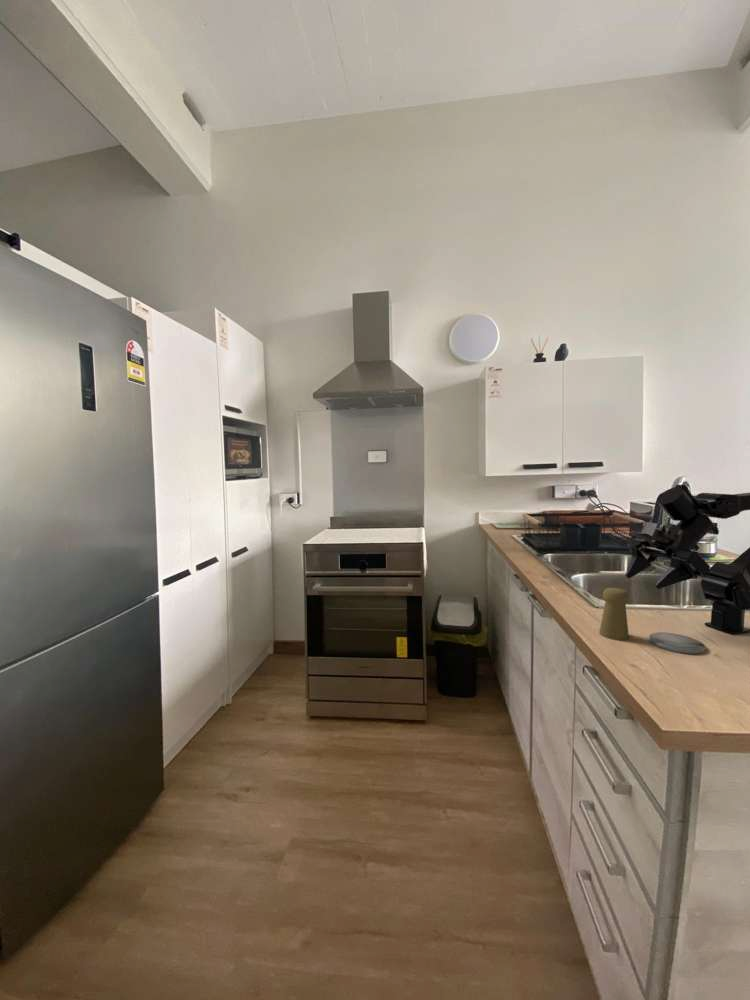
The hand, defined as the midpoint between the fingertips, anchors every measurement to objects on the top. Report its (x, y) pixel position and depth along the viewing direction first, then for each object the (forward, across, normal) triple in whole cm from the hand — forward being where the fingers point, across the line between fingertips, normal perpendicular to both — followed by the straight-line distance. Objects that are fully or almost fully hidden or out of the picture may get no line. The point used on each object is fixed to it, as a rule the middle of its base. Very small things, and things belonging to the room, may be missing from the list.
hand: (641, 582), depth 99 cm
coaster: (+6, +7, +11) cm, 15 cm away
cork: (+13, 0, +4) cm, 14 cm away
